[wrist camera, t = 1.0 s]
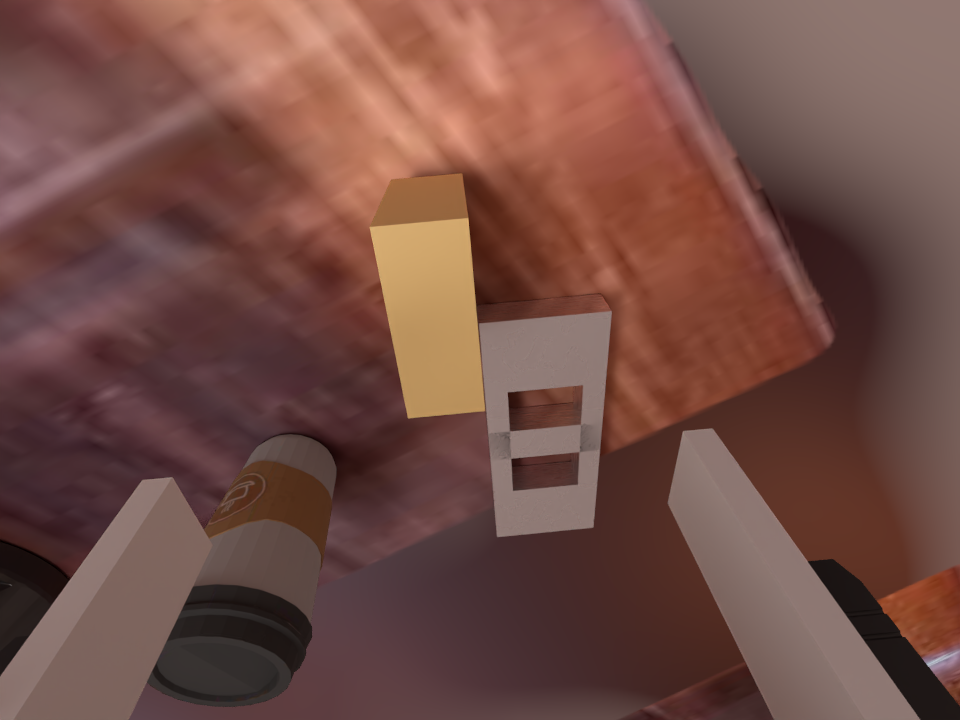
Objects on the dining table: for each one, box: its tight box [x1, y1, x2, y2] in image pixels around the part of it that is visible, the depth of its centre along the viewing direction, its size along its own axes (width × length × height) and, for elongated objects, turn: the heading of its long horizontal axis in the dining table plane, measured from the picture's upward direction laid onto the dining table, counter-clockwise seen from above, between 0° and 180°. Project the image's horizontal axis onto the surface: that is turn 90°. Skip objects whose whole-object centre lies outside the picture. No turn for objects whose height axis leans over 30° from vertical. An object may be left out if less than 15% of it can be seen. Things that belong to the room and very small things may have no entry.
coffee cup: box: [147, 434, 337, 707], centre depth 30 cm, size 8×8×15 cm
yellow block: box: [370, 173, 485, 418], centre depth 24 cm, size 9×4×10 cm, turn 4°
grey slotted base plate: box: [477, 294, 612, 537], centre depth 35 cm, size 20×8×2 cm, turn 4°
